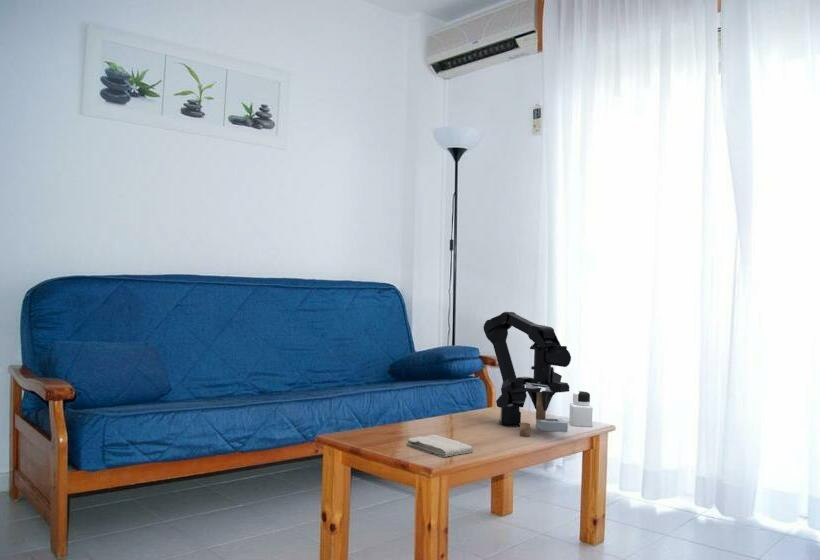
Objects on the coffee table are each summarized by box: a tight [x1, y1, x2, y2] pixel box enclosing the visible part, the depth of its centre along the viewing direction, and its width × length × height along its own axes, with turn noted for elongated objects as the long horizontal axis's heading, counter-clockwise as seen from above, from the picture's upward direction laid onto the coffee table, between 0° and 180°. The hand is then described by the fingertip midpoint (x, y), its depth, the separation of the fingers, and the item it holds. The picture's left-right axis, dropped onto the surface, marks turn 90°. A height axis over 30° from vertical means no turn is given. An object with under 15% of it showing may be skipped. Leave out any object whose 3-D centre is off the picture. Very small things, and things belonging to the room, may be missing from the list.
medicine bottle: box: [568, 390, 594, 428], centre depth 237 cm, size 7×7×12 cm
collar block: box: [535, 417, 569, 433], centre depth 227 cm, size 9×9×3 cm
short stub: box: [519, 422, 531, 438], centre depth 213 cm, size 3×3×4 cm
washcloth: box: [406, 434, 474, 458], centre depth 190 cm, size 12×18×3 cm, turn 41°
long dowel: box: [535, 391, 547, 420], centre depth 218 cm, size 3×3×9 cm
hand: (540, 409), depth 218 cm, fingers closed on long dowel, 3 cm apart
